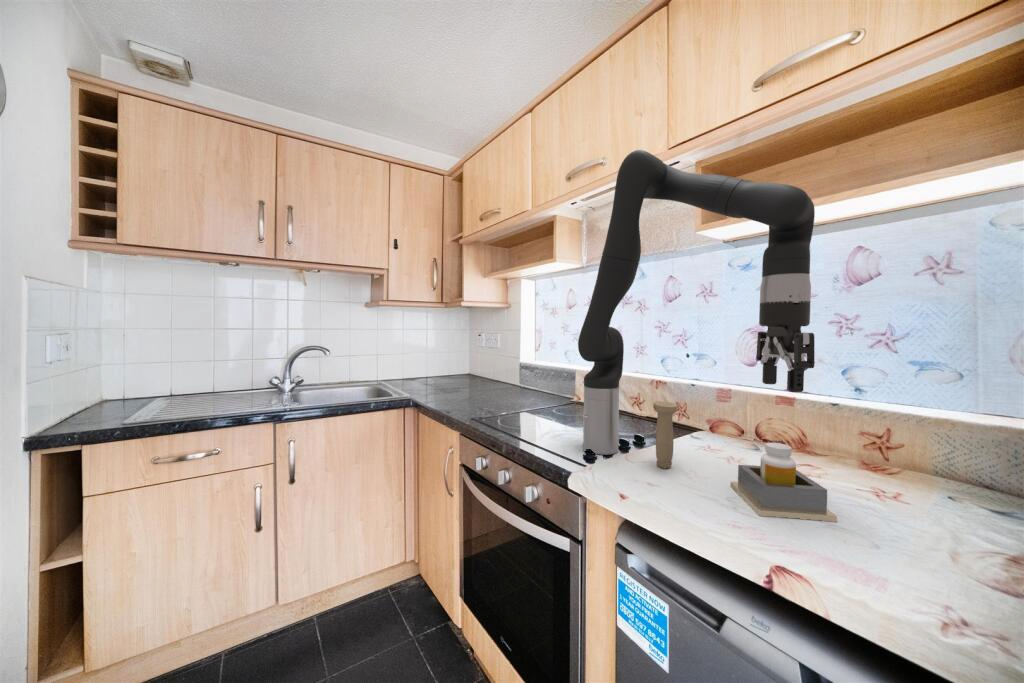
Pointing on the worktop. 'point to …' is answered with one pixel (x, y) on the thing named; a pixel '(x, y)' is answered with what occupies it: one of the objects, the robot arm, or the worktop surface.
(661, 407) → the handle
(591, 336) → the robot arm
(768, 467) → the supplement bottle
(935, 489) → the worktop surface
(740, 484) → the gray open box
